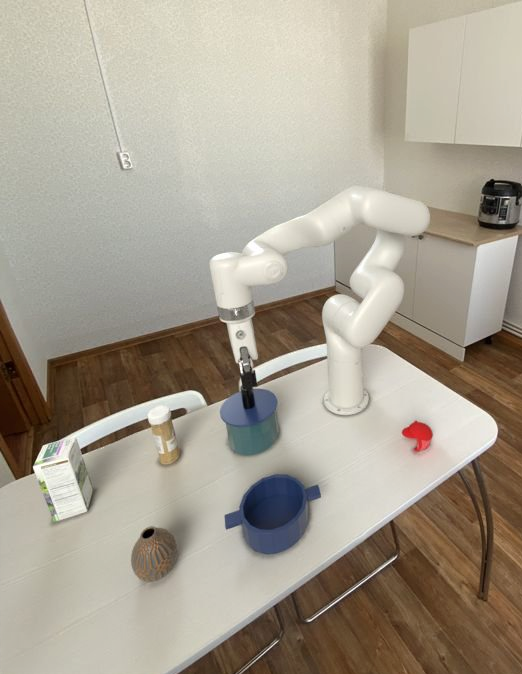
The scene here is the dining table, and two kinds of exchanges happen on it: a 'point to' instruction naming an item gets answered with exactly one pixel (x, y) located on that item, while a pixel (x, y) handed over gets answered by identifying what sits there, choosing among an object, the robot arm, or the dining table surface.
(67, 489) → the syrup box
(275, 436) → the pot
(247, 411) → the lid
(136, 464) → the dining table surface
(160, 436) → the spice jar
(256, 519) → the pan
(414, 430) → the red rounded piece
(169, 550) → the vase
